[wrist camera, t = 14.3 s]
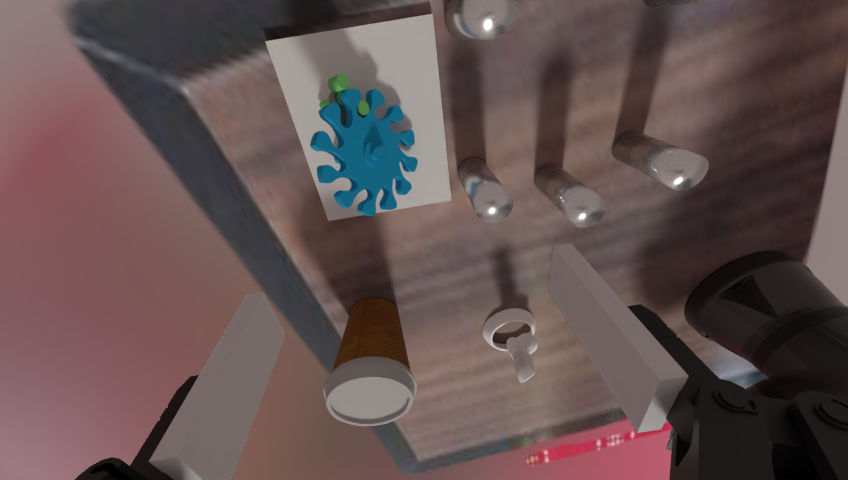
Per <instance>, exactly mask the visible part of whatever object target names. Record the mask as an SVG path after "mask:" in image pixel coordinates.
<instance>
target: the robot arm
mask: <svg viewBox="0 0 848 480" xmlns="http://www.w3.org/2000/svg"><path fill="white" fill-rule="evenodd" d="M549 293H550V295H551V296H552V298H553V299H554V301H555V303H556V304H557V306H558V307H559V309H560V311H561V312H562V314H563V315H564V317H565V319H566V320H567V322H568V323H569V325H570V327H571V328H572V330H573V331H574V333H575V335H576V336H577V338H578V339H579V341H580V343H581V344H582V346H583V347H584V349H585V351H586V352H587V354H588V355H589V357H590V359H591V360H592V362H593V363H594V365H595V367H596V368H597V370H598V371H599V373H600V374H601V376H602V378H603V379H604V381H605V382H606V384H607V386H608V387H609V389H610V390H611V392H612V394H613V395H614V397H615V398H616V400H617V402H618V403H619V405H620V406H621V408H622V410H623V411H624V413H625V414H626V416H627V418H628V419H629V421H630V422H631V424H632V426H633V427H634V429H635V430H636V432H637V433H640V432H647V431H653V430H659V429H662V427H663V425H664V423H665V421H666V419H667V420H668V421H669V423H670V424H671V426H672V427H673V429H672V431H671V434H670V440H669V442H668V444H667V447H666V448H667V449H669V450H672V454H671V468H670V480H848V307H847V306H845V305H844V304H843V303H841V302H840V301H839V300H838V299H837V298H836V297H835V295H834V294H833V293H832V292H831V291H830V290H829V289H828V288H827V287H826V286H825V285H824V284H823V283H822V282H821V281H820V280H818V279H817V278H816V277H815V276H814V275H813V273H812V272H811V271H810V269H809V268H808V267H807V266H806V265H804V264H803V263H801V262H799V261H798V260H796V259H794V258H792V257H790V256H788V255H786V254H784V253H781V252H761V253H756V254H753V255H749V256H746V257H743V258H741V259H738V260H736V261H734V262H732V263H730V264H728V265H726V266H725V267H723V268H721V269H720V270H718V271H717V272H715V273H714V274H713V275H711V276H710V277H709V278H707V279H706V280H705V281H704V282H703V283H702V284H701V285H700V286H699V287H698V288H697V289H696V290H695V292H694V293H693V294H692V296H691V297H690V299H689V301H688V303H687V305H686V309H685V318H686V320H687V322H688V323H689V324H690V325H691V326H692V327H693V328H694V329H695V330H696V331H697V332H698V333H699V334H700V335H702V336H703V337H705V338H707V339H709V340H711V341H715V342H716V343H718V344H719V345H721V346H722V347H724V348H726V349H728V350H729V351H731V352H733V353H735V354H737V355H739V356H740V357H742V358H744V359H746V360H748V361H749V362H750V363H752V364H753V365H754V366H755V367H756V368H757V369H758V370H760V371H761V372H762V373H763V374H764V375H765V376H766V378H765V379H763V380H761V381H759V382H758V383H756V384H754V385H752V386H750V387H748V388H746V389H744V388H743V387H741V386H739V385H737V384H735V383H732V382H730V381H726V380H722V379H719V378H718V377H717V376H716V375H715V374H714V373H713V372H712V371H711V370H710V369H709V368H708V367H707V366H706V365H705V364H704V363H703V362H702V361H701V360H700V359H699V358H698V357H697V356H696V355H695V354H694V353H693V352H692V351H691V350H690V348H689V347H688V346H687V345H686V344H685V343H684V342H683V341H682V340H681V339H680V338H677V336H676V334H675V333H674V332H673V331H672V330H671V329H670V328H668V327H667V325H666V324H665V323H664V322H663V321H662V320H661V319H660V318H659V317H658V316H657V315H656V314H655V313H654V312H652V311H650V310H649V309H647V308H645V307H644V306H642V305H633V306H626V305H625V304H624V303H623V301H622V300H621V299H620V298H619V297H618V296H617V295H616V294H615V292H614V291H613V290H612V289H611V288H610V287H609V286H608V285H607V283H606V282H605V281H604V280H603V279H602V278H601V277H600V276H599V274H598V273H597V272H596V271H595V270H594V269H593V268H592V267H591V265H590V264H589V263H588V262H587V261H586V260H585V259H584V258H583V256H582V255H581V254H580V253H579V252H578V251H577V250H576V249H575V247H574V246H573V245H572V244H571V243H569V244H563V245H557V246H554V249H553V258H552V268H551V277H550V287H549ZM284 337H285V332H284V330H283V328H282V326H281V324H280V322H279V321H278V319H277V317H276V315H275V313H274V311H273V310H272V308H271V306H270V304H269V302H268V300H267V299H266V297H265V295H264V293H263V292H261V293H255V294H248V295H246V296H245V298H244V299H243V301H242V303H241V305H240V306H239V308H238V310H237V311H236V313H235V315H234V316H233V318H232V320H231V322H230V323H229V325H228V327H227V328H226V330H225V332H224V333H223V335H222V337H221V339H220V340H219V342H218V344H217V345H216V347H215V349H214V351H213V352H212V354H211V356H210V357H209V359H208V361H207V363H206V364H205V366H204V368H203V369H202V371H201V373H200V375H197V376H191V377H190V378H189V379H188V380H187V381H186V382H185V383H184V384H183V385H182V386H181V387H180V388H179V389H178V390H177V391H176V393H175V395H174V396H173V398H172V399H171V401H170V403H169V404H168V408H166V409H165V411H164V412H163V414H162V415H161V417H160V421H158V422H157V423H156V425H155V427H154V428H153V430H152V432H151V433H150V435H149V436H148V438H147V439H146V441H145V443H144V444H143V446H142V447H141V449H140V451H139V452H138V454H137V456H136V457H135V459H134V460H133V462H132V464H131V465H130V466H129V465H127V464H126V463H124V462H123V461H122V460H120V459H117V458H108V459H104V460H101V461H100V462H98V463H96V464H94V465H92V466H90V467H89V468H88V469H87V470H85V471H84V472H83V473H82V474H80V475H79V476H78V477H77V478H76V479H75V480H232V478H233V475H234V473H235V470H236V467H237V464H238V462H239V459H240V456H241V454H242V451H243V448H244V445H245V443H246V440H247V437H248V435H249V432H250V429H251V427H252V424H253V421H254V418H255V416H256V413H257V410H258V407H259V405H260V402H261V399H262V397H263V394H264V391H265V389H266V386H267V383H268V381H269V378H270V375H271V372H272V370H273V367H274V364H275V362H276V359H277V356H278V353H279V351H280V348H281V345H282V342H283V340H284Z"/></svg>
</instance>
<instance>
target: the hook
mask: <svg viewBox="0 0 848 480" xmlns="http://www.w3.org/2000/svg"><path fill="white" fill-rule="evenodd" d="M510 322H523V323H526V324H528V325H529V326H530V327H531V329H530V331H529V332H528V333H522V334H521V335H519V336H518V337H517V338H516V337H510V338H509V339H508V340H507V343H506V344H500V343H495V342H493V341H492V337H493V334H494V332H495V331H496V330H497V329H498V328H499V327H501V326H503V325H505V324H507V323H510ZM534 332H535V320H534V317H533V315H532V314H531V313H530V312H528V311H526V310H523V309H518V308H512V309H506V310H503V311H500V312H498V313H496V314H494V315H493V316H491V317H490V318H489V319H488V320H487V321H486V323H485V324H484V327H483V336H484V338H485V339H486V341H487V342H488V343H489V344H490V345H491V346H493V347H494V348H496V349H498V350H502V351H508V352H509V354H510V356H511V357H512V358H513V361H514V366H515V371H516V374H517V377H518V379H519V380H520V382H521V383H523V382H525V381H527V380H528V379H529V378H530V377H532V376H533V375H534V374H535V367H534V364H533V361H532V358H531V356H530V354H532V353H533V352H534V351H535V350H536V349H537V347H538V341H537V339H536V338H535V336H534Z"/></svg>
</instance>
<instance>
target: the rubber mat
mask: <svg viewBox="0 0 848 480" xmlns="http://www.w3.org/2000/svg"><path fill="white" fill-rule="evenodd" d="M265 42H266V45H267V48H268V50H269V53H270V56H271V59H272V62H273V65H274V68H275V70H276V73H277V76H278V79H279V82H280V85H281V88H282V90H283V93H284V96H285V99H286V102H287V105H288V108H289V110H290V113H291V116H292V119H293V122H294V125H295V127H296V130H297V133H298V136H299V139H300V142H301V145H302V147H303V150H304V153H305V156H306V159H307V162H308V165H309V167H310V170H311V173H312V176H313V179H314V182H315V185H316V187H317V190H318V193H319V196H320V199H321V202H322V204H323V207H324V210H325V213H326V216H327V219H328V221H332V220H338V219H344V218H350V217H356V216H361V215H363V214H361V213H359V212H358V211H357V207H358V204H359V203H360V202H362V201H364V200H365V199H366V198H367V191H366V190H365V189H364V190H362V191H361V192H359V193H358V194H357V196H356V197H355V199H354V201H353V204H352V205H351V206H350V207H348V208H342V207H340V206H339V205H338V203H337V202H336V201H335V199H334V194H335V193H336V192H337V191H349V190H350V188H351V182H350V180H349V179H347V178H343V177H341V178H338V179H336V180H335V181H333V182H332V183H320V182H319V180H318V176H317V167H318V166H321V165H330V166H332V167H333V168H335V169H336V170H337V171H339V169H340V164H338V163H336V162H335V160H334V156H332V155H331V154H329V153H327V152H324V151H315V150H313V149H312V148H311V147H310V143H311V139H312V137H313V135H314V133H315V132H318V131H324V132H326V133H327V134H328V135H329V136H330V138H331V141H332V143H333V145H334V146H335V147H336V148H337V146H338V139H337V137H336V134H335V132H334V130H333V129H332V127H331V126H330V125H329V124H328V123H327V122H325V121H324V120H323V119H322V118H321V117H320V115H319V110H320V109H321V108H320V106H319V104H320V102H321V101H324V100H327V99H329V95H330V93H331V90H330V89H329V87H328V80H329V78H331V77H334V76H336V75H338V74H340V73H343V74H345V75H346V76H347V77H348V79H349V87H348V88H347V89H357V90H359V91H360V93H361V101H365V102H366V93H367V92H368V91H369V90H372V89H376V90H378V91H379V92H380V93H382V94H383V96H384V97H385V101H384V104H383V105H381V106H378V107H376V109H375V116H376V117H377V119H379V120H380V119H382V118H383V117H384V116H385V114H386V112H387V110H388V108H389V107H392V106H395V105H399V107H400V108H401V110H402V112H403V115H404V119H403V120H402V121H399V122H395V123H392V122H390V129H391V130H392V131H393V132H395V133H398V134H400V133H401V132H403V131H407V130H412V131H414V137H415V143H414V145H410V146H403V145H402V144H401V143H400V141H399V143H398V145H399V148H400V150H401V151H402V152H403V153H404V154H405V155H407V156H409V157H415V158H417V160H418V164H417V167H416V170H415V172H406V171H405V170H404V169H403V166H402V163H401V161H400V163H399V166H400V169H401V172H402V174H403V176H404V178H405V179H406V180H407V181H409V182H410V183H411V185H412V189H411V190H410V191H409V192H408V193H407V194H406V195H398V194H397V193H396V190H395V185H396V181H395V179H393V188H392V189H393V195H394V198H395V200H396V202H397V208H395V209H393V210H397V209H403V208H409V207H415V206H421V205H427V204H433V203H439V202H444V201H450V200H451V192H450V182H449V172H448V162H447V152H446V142H445V132H444V122H443V112H442V102H441V92H440V82H439V72H438V62H437V52H436V42H435V32H434V22H433V14H428V15H422V16H416V17H410V18H404V19H398V20H392V21H386V22H380V23H374V24H368V25H361V26H355V27H349V28H343V29H337V30H331V31H325V32H319V33H313V34H307V35H301V36H295V37H289V38H282V39H276V40H270V41H265ZM360 117H361V116H360ZM382 197H383V190H382V189H381V190H380V192H379V194H378V196H377V199H376V213H379V212H385V211H391V210H382V209H380V205H379V204H380V200H381V198H382Z"/></svg>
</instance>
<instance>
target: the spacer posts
mask: <svg viewBox="0 0 848 480" xmlns="http://www.w3.org/2000/svg"><path fill="white" fill-rule="evenodd" d="M707 1H716V0H644V2H645V3H646V5H648V6H649V7H653V8H655V7H664V6H673V5H681V4H690V3H698V2H707ZM516 8H517V0H451V1H450V2H449V4H448V6H447V8H446V12H445V23H446V27H447V29H448V31H449V32H450V34H451V35H452V36H454V37H455V38H458V39H488V40H489V39H495V38H497V37H499V36H501V35H502V34H504V33H505V32H506V31H507V30H508V28H509V27H510V26H511V24H512V22H513V20H514V17H515V14H516ZM612 154H613V156H614V158H616V159H617V160H619V161H621V162H623V163H625V164H627V165H629V166H631V167H632V168H634V169H636V170H638V171H640V172H642V173H644V174H646V175H648V176H650V177H651V178H653V179H655V180H657V181H659V182H661V183H663V184H665V185H667V186H669V187H670V188H672V189H674V190H676V191H686V190H689V189H691V188H693V187H694V186H696V185H697V184H698V183H700V182H701V181H702V179H703V178H704V177H705V175H706V173H707V171H708V168H709V163H708V160H707V159H706V158H705V157H703V156H701V155H698V154H695V153H693V152H690V151H687V150H684V149H682V148H679V147H676V146H674V145H671V144H668V143H666V142H663V141H660V140H658V139H655V138H652V137H650V136H647V135H644V134H642V133H639V132H636V131H627V132H625V133H623V134H622V135H620V136H619V137H618V138H617V139H616V141H615V142H614V144H613V147H612ZM458 177H459V180H460V182H461V184H462V186H463V187H464V189H465V191H466V193H467V195H468V197H469V199H470V201H471V203H472V205H473V207H474V209H475V211H476V213H477V215H478V217H479V218H480V219H481V220H482V221H484V222H487V223H497V222H500V221H502V220H503V219H505V218H506V217H507V216H508V215H509V214H510V212H511V210H512V207H513V200H512V197H511V196H510V194H509V193H508V192H507V191H506V189H505V188H504V187H503V185H502V184H501V183H500V182H499V180H498V179H497V178H496V176H495V175H494V174H493V173H492V171H491V170H490V169H489V167H488V166H487V165H486V164H485V162H484V161H483V160H482V159H480V158H477V157H471V158H468V159H466V160H464V161H463V162H462V163H461V165H460V166H459V168H458ZM534 183H535V186H536V187H537V188H538V189H539V190H540V191H541V192H542V193H543V194H544V195H545V196H546V197H547V198H548V199H549V200H550V201H551V202H552V203H553V204H554V205H555V206H556V207H557V208H558V209H559V210H560V211H561V212H562V213H563V214H564V215H565V216H566V217H567V218H568V219H569V220H570V221H571V222H572V223H573V224H574V225H575V226H577V227H581V228H584V227H589V226H592V225H594V224H595V223H597V222H598V221H599V220H600V219H601V218H602V217H603V215H604V214H605V211H606V202H605V200H604V199H603V198H602V197H600V196H599V195H598V194H596V193H595V192H593V191H592V190H591V189H589V188H588V187H587V186H585V185H584V184H583V183H581V182H580V181H579V180H577V179H576V178H575V177H573V176H572V175H571V174H569V173H568V172H567V171H565V170H564V169H563V168H561V167H560V166H559V165H557V164H554V163H549V164H546V165H543V166H542V167H541V168H540V169H539V170H538V171H537V172H536V174H535V177H534Z"/></svg>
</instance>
